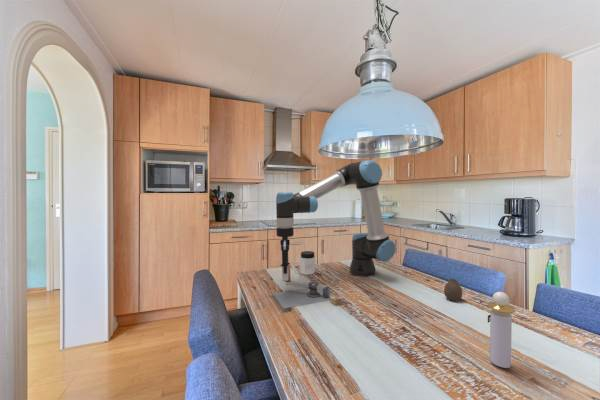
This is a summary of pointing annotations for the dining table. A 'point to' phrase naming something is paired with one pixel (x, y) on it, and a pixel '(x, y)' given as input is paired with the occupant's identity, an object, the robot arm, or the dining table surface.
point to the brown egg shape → (453, 290)
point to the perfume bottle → (500, 330)
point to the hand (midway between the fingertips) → (285, 280)
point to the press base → (299, 298)
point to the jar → (307, 263)
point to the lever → (308, 285)
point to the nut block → (336, 300)
